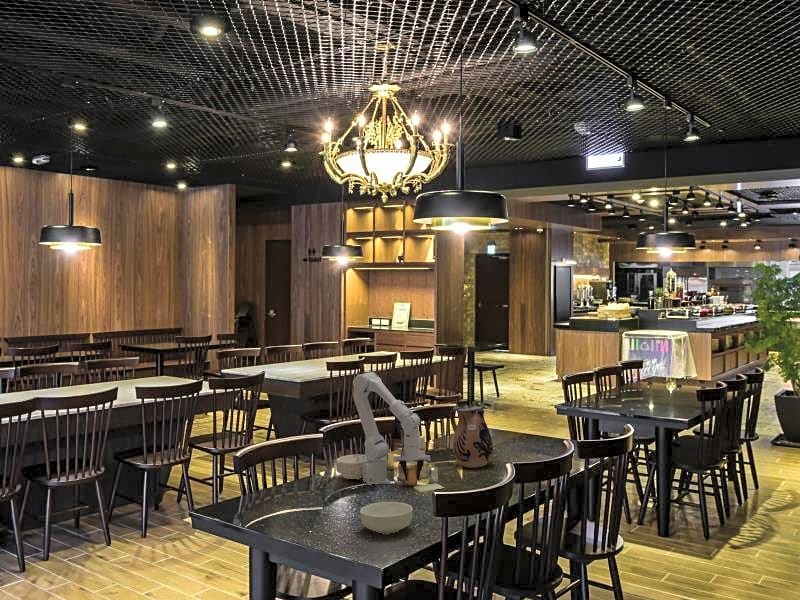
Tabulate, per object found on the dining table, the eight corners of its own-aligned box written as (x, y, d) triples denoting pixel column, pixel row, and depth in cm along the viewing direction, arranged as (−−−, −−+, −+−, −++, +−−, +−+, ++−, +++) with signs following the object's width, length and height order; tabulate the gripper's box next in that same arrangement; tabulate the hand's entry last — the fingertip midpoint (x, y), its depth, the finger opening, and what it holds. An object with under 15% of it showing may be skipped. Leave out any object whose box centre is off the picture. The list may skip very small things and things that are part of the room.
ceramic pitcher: (480, 472, 298) (478, 413, 298) (438, 466, 311) (436, 409, 311) (501, 464, 312) (499, 406, 312) (460, 458, 325) (458, 403, 325)
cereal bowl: (411, 521, 239) (411, 500, 239) (414, 538, 222) (414, 515, 222) (361, 523, 238) (360, 501, 238) (360, 540, 222) (359, 517, 222)
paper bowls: (329, 480, 293) (329, 460, 293) (347, 471, 307) (347, 453, 307) (362, 483, 287) (362, 463, 287) (379, 474, 301) (379, 455, 300)
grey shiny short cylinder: (430, 484, 283) (430, 469, 282) (426, 482, 286) (426, 467, 286) (439, 483, 284) (439, 468, 284) (435, 481, 288) (435, 466, 288)
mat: (421, 492, 272) (421, 491, 272) (413, 488, 278) (413, 486, 278) (444, 489, 275) (444, 487, 275) (436, 484, 282) (436, 483, 282)
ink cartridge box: (426, 462, 319) (425, 429, 319) (421, 464, 315) (420, 431, 315) (409, 460, 323) (408, 428, 323) (404, 463, 319) (403, 430, 319)
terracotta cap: (409, 485, 279) (409, 470, 279) (405, 483, 283) (405, 468, 283) (418, 484, 281) (418, 469, 281) (414, 481, 284) (414, 466, 284)
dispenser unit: (401, 481, 288) (401, 466, 288) (396, 478, 293) (396, 464, 293) (430, 477, 293) (430, 463, 293) (425, 474, 298) (425, 460, 298)
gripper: (428, 442, 286) (429, 476, 286) (392, 443, 285) (393, 477, 285) (430, 446, 279) (431, 481, 279) (393, 447, 278) (394, 482, 278)
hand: (412, 479), depth 282 cm, fingers closed on terracotta cap, 4 cm apart
